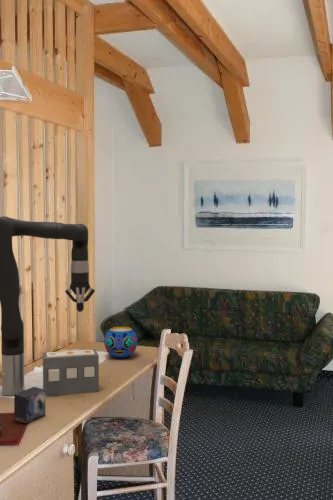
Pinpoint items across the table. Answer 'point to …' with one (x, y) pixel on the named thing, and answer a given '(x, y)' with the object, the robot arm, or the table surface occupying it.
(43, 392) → the small box
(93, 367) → the right button
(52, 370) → the left button
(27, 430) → the table surface
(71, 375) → the middle button
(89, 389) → the control panel
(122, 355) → the ceramic pot
